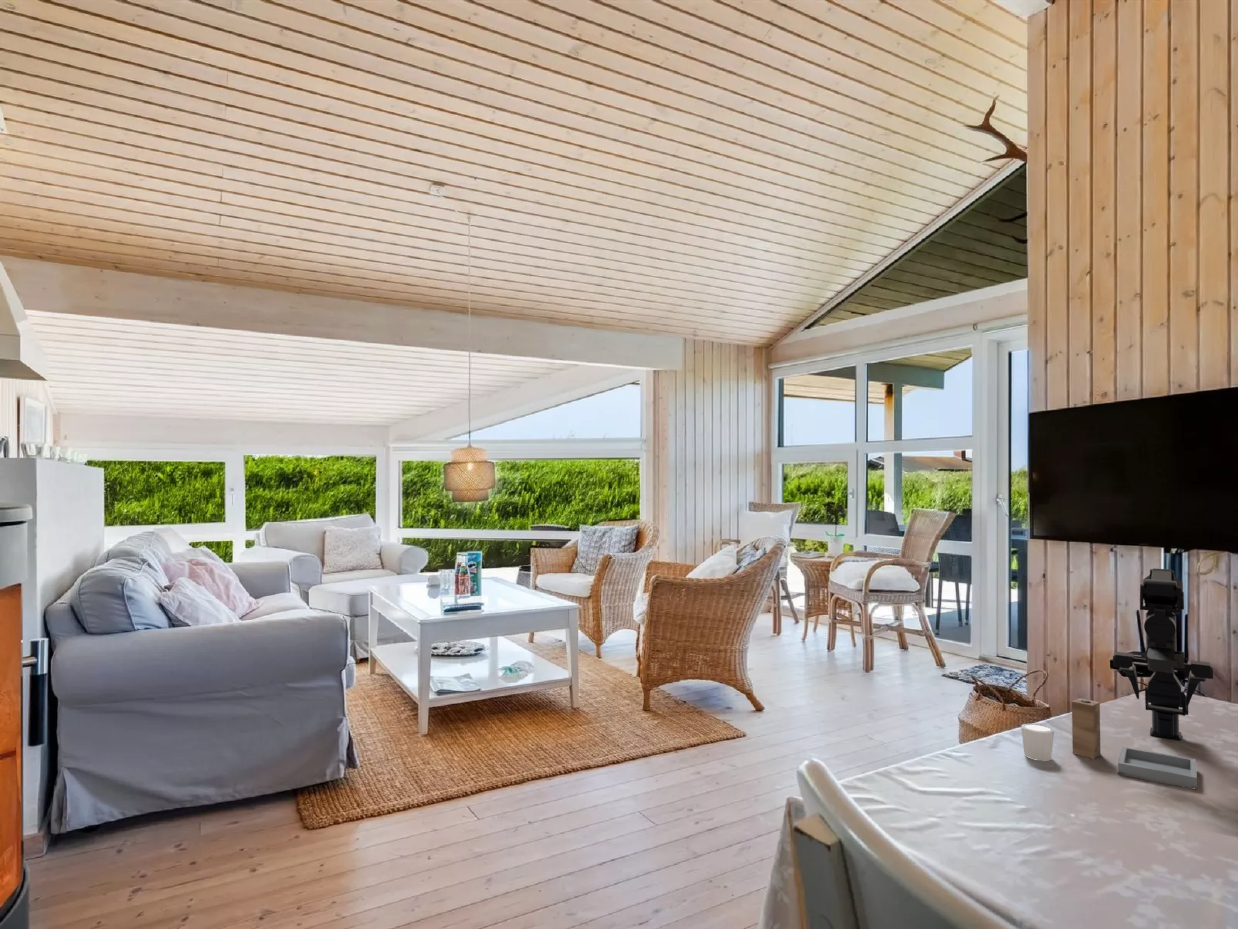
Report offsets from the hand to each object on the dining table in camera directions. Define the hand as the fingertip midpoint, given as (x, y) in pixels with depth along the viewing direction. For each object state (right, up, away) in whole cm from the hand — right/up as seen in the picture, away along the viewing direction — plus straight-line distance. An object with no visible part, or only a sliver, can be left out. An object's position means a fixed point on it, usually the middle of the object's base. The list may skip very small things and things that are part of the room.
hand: (1162, 702), depth 173 cm
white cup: (-26, -15, +5) cm, 31 cm away
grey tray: (-4, -15, -4) cm, 16 cm away
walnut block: (-13, -15, +7) cm, 21 cm away
